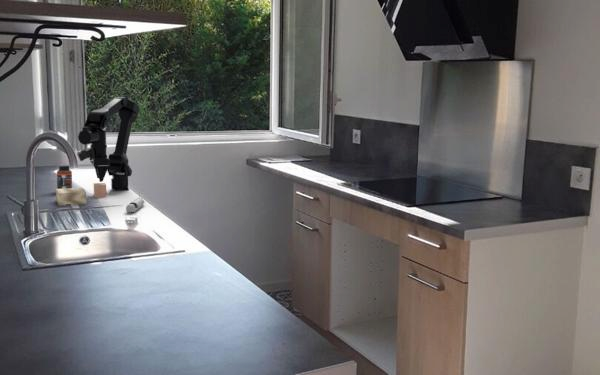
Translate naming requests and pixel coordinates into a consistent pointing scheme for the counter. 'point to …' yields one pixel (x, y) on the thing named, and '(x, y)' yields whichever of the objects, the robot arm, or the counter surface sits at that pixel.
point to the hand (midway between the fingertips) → (99, 179)
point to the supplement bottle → (64, 177)
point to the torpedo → (135, 204)
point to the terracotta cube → (99, 189)
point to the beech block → (71, 196)
